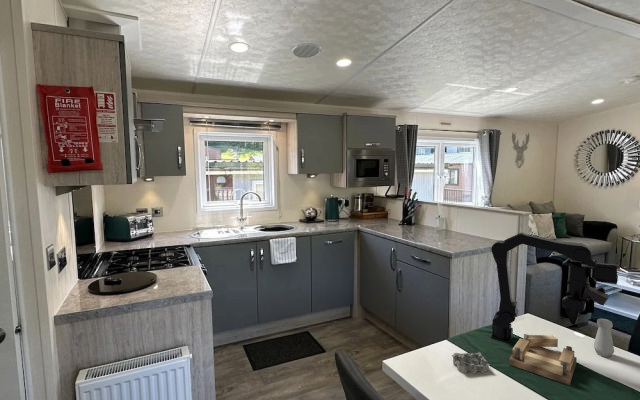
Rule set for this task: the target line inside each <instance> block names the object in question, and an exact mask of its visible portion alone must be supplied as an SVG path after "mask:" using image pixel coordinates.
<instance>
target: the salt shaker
mask: <svg viewBox="0 0 640 400" xmlns="http://www.w3.org/2000/svg"><path fill="white" fill-rule="evenodd" d="M596 325H597V326H598V327H597V328H598V329H597V332H596V336H595V337H594V338H595V339H594V342H593V350H594V351H595V352H596V354H597V355H598V356H600V357H602V358H611V356H612V355H613V354H614V353H615V346H614V342H613V335H612V330H611V329H613V326H614V325H613V322H612V321H611V320H609V319H606V318H598V319H597V320H596Z"/></svg>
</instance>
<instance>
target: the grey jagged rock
mask: <svg viewBox="0 0 640 400" xmlns="http://www.w3.org/2000/svg"><path fill="white" fill-rule="evenodd" d="M451 357H452V364H453V366H455V367H456V370H457V372H462V373H464V374H466V373H467V372H472V373H474V374H475V373H477V372H479V371H480V372H482V373H487V371H488V370H489V368H488V367H489V366H491V364H490V363H488V360H486V358H485V356H483V355H482V353H481V352H480V351H479V352H474V353H469V352H466V353H463V352H462V353H459V352H454V353H452V355H451Z"/></svg>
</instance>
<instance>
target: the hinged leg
mask: <svg viewBox="0 0 640 400" xmlns="http://www.w3.org/2000/svg"><path fill="white" fill-rule="evenodd" d="M523 339H524V340H527V341H529V347H543V348H559V347H558V343H559V342H558V341H559V339H558V338H557V337H555V336H554V335H551V334H550V335H548V334H547V335H545V334H542V335H541V334H526V333H524V334H523Z"/></svg>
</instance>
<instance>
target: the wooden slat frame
mask: <svg viewBox="0 0 640 400" xmlns="http://www.w3.org/2000/svg"><path fill="white" fill-rule="evenodd" d="M565 347H566V348H565ZM565 347H563V349H562V351H561V352H558V351H556V350H552V349H549V348H547V347H529V341H527V340H524V338H519V339H518V341H517V342H516V343H515V344H514V346H513V347H512V350H511V351H512V354H511V355H510V357H509V359H508V365H509V366H512V367H515V368H518V369H521V370H523V371H526V372H528V373H529V372H530V373H533V374H535V375H539V376H541V377H544V378H547V379H550V380H552V381H553V380H554V381H556V382H559V383H562V384H564V385H566V386H567V385H568V386H571V382H572V378H573V375H574V372H575V370H576V366H577V361H578V359H577V357H578V356H577V357H576V356H575V350H573V347H572V346H570V345H566V346H565Z"/></svg>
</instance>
